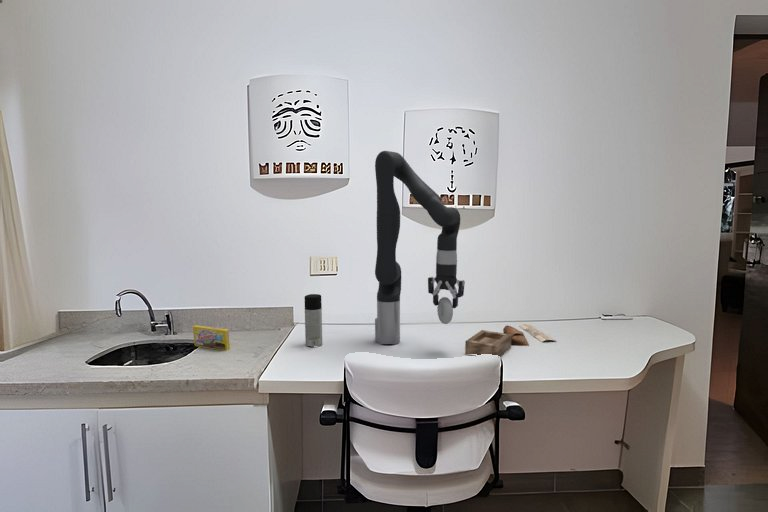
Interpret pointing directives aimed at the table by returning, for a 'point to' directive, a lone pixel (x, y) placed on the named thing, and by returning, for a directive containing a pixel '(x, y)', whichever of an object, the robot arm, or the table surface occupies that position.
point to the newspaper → (535, 332)
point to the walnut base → (488, 343)
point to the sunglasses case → (516, 336)
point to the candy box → (211, 337)
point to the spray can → (313, 320)
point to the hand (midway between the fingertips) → (445, 306)
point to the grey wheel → (445, 310)
